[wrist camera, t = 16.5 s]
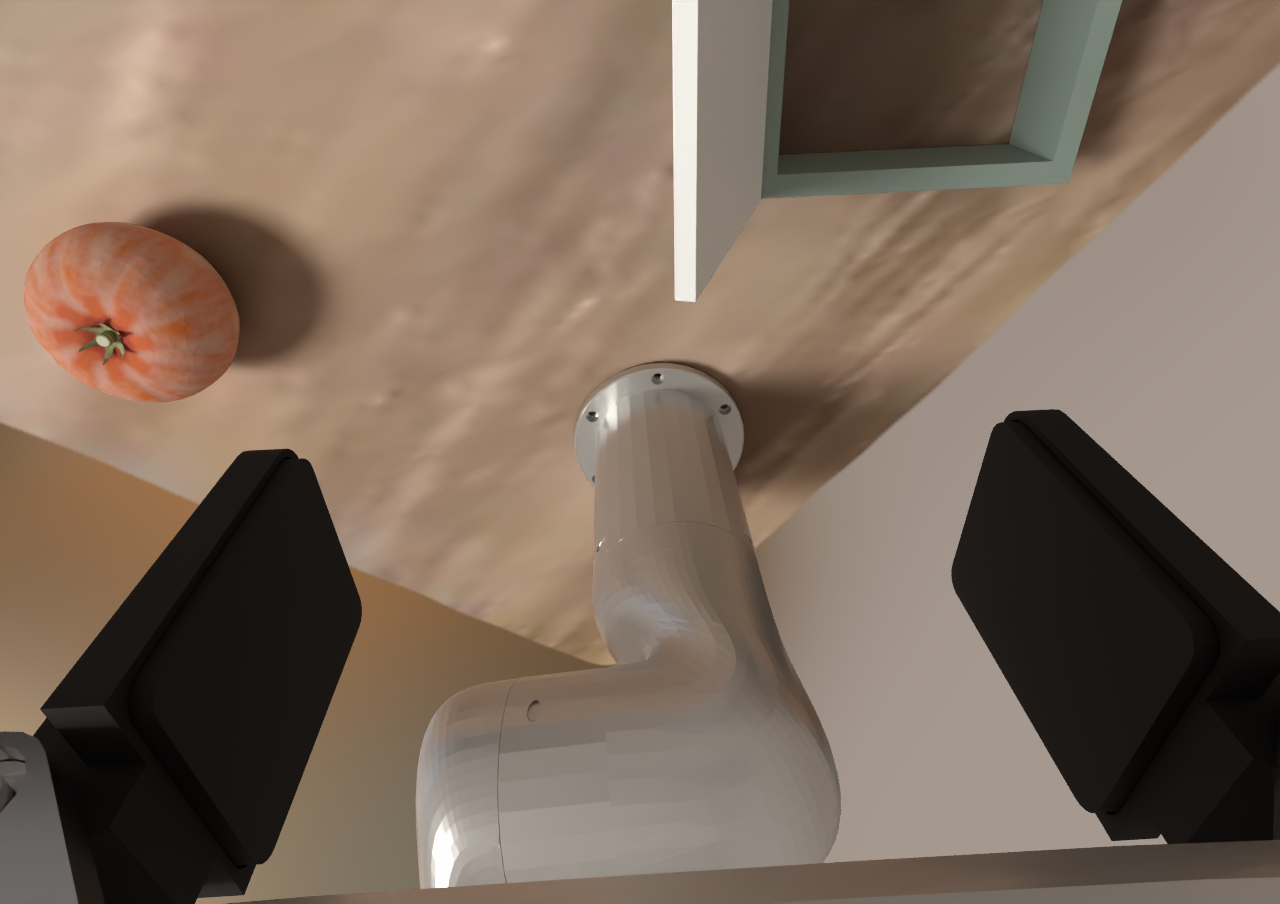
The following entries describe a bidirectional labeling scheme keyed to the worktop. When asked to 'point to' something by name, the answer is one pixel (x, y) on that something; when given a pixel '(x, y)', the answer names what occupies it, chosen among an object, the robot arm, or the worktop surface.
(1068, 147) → the open hinged box
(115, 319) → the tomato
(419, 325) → the worktop surface
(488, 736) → the robot arm
